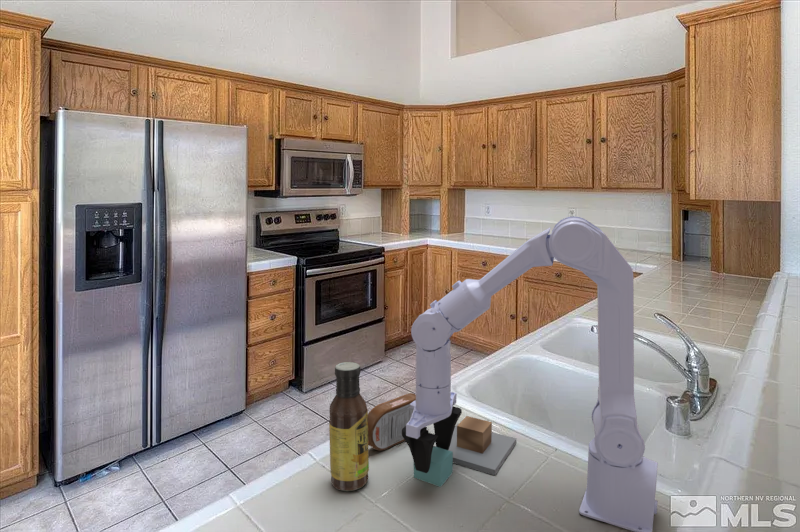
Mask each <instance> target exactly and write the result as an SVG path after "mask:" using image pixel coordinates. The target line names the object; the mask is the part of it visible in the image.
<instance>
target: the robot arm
mask: <svg viewBox="0 0 800 532" xmlns="http://www.w3.org/2000/svg"><path fill="white" fill-rule="evenodd" d="M550 232H551V233H550ZM554 260H556V261H557V262H559V264H562V265H565V266H566V267H570V268H572V269H574V270H577V271H580V272H582V274H584V275H585V276H586V277H588V278H589V279H590V280H591V281H593V282H594V283H595V284H596V285H597V290H596V291H597V292H596V293H597V341H598V342H597V351H598V352H597V354H598V356H597V357H598V360H597V361H598V363H597V364H598V365H597V366H598V386H597V387H598V389H597V401H596V403H595V405H594V406H593V408H592V410H591V420H592V424H593V428H594V437H593V438H592V439H591V440H590V441H589V443H588V454H587V455H588V456H587V473H586V475H587V476H586V489H585V492H584V495H583V498H582V500H581V503H580V506H579V509H578V513H579V515H581V516H584V517H587V518H590V519H593V520H596V521H600V522H604V523H607V524H610V525H613V526H616V527H618V528H623V529H625V530H628V531H632V532H653V526H654V518H655V516H654V515H657V513H658V501H659V500H657V499H656V495H657V494H656V492H657V483H658V482H657V480H658V479H657V478H658V466H659V463H658V462H657V461H655V460H652V459H650V458H648V457H645V456H644V454H645V450H646V445H645V444H646V443H645V440H644V437H643V436H642V434H641V430H640V428H639V425H638V416H637V408H636V401H635V355H634V354H635V349H634V348H635V346H634V345H635V343H634V342H635V337H634V332H635V331H634V330H635V327H634V323H635V322H634V319H635V318H634V315H635V314H634V313H635V312H634V298H635V297H634V295H635V294H634V293H635V292H634V291H635V290H634V271H633V268H632V266H631V265H630V264H629V263H628V261H627V260H626V258H625V257H624V256H623V255H622V254H621V252H620V251H619V250H618V249H617V247H616V246H615V245H614V243H613V242H612V241H611V240H610V239H609V237H608V235H606V234H605V232H603V230H602V229H601V228H599V226H596V225H595V224H593V223H592V222H590V221H588V219H585V218H584V217H580V216H574V215H573V216H566V217H565V218H562V219H560V220H559V221H558V222H557V223H556V224H555V225H554V226H553V228H552V230H551V226H550V227H548V228H546V229H544V230H543V231H541V232H539V233H537V234H536V235H534V236H533V237H531V238H529V239H527V240H526V241H525V242H523V244H521V245H520V246H519V247H517V248H516V249H515V250H514V251H513V252H512V253H510V254H509V255H507V257H505V258H504V259H503V260H502V261H500V263H498V264H496V266H494V267H493V268H492V269H491V270H490V271H488V273H486V274H484V276H483V277H481V278H480V279H473V278H466V279H464V280H463V281H461V280H457V281H456V282H455V283H454V284H453V285H451V287H452V290H451V291H449V292H448V293H447V294H446V295H444V296H443V297H442V298H440V299H439V300H438V301H437V299H435V300H434V301H432V302H431V303H430V304H429V306H430V308H428V309H426V310H425V311H424V312H422V313H421V314H419V315H418V316H417V317H416V319H414V322H413V323H412V325H411V328H410V332H411V338H412V341H413V343H415V394H416V400H415V401H413V402H412V403H410V408H411V409H414V410H413V413H412V416H411V418H410V421H409V422H408V423H407V424H406V426H405V427H404V428H403V429H402V437H403V438H404V439H405V441H404V442H405V443H406V444H407V446H408V449H409V451H410V453H411V457H412V461H413V466H414V465H415V468H416V470H418V471H421V472H424V473H427V472H428V471H429V469H430V463H431V455H432V450H433V446H434V445H435V446H436V447H438V448H442V449H445V450H449V447H450V444H451V439H452V435H453V431H454V428H455V426H456V425H457V424H458V423H457V422H458V421H459V419H460V417H461V415H462V413H463V412H462V411H463V409H462V408H461V407H457V406H454V405H456V404H457V392H454V391H451V390H452V389H451V387H452V386H451V385H452V384H451V382H452V373H451V372H452V354H451V339H450V338H452V336H453V334H454V333H457V332H460V331H462V330H463V329H465V328H466V327H467V326H468V325H470V323H472V322H473V321H474V320H476V319H477V318H479V317H481V316H482V315H483V314H484V313H486V312H487V311H488V310H490V309H491V302H492V296H494V295H496V294H497V293H498V292H499V291H502V289H504V288H505V287H507V286H509V285H510V284H511V283H513V282H514V281H515V280H517V279H518V278H519V277H520V276H522V275H524V274H525V273H527V272H528V271H529V270H531V269H532V268H537V267H538V268H539V267H552V266H553V264H554ZM431 425H433V430H434V433H431V432H429V430H428V428H427V427H428V426H431Z"/></svg>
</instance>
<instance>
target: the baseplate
mask: <svg viewBox="0 0 800 532" xmlns="http://www.w3.org/2000/svg"><path fill="white" fill-rule="evenodd" d="M458 424H459V423H456V425H455V428H454V431H453V435H452V439H451V444H450V447H449V451H452V452H453V464H456V465H459V466H462V467H465V468H469V469H472V470H476V471H477V472H478V471H479V472H482V473H485V474H489V475H491V476H496V475H497V473H498V471H499V470H500V469H501V467H502V465H503V464H504V463H505V461H506V460H507V459H508V457H509V455H510V453H511V452H512V451H513V449H514V447H515V446H516V444H517V437H513V436H508V435H504V434H501V433H497V432H494V431H493V432H492V441H491V444H490V445H489V446H488V447H487V449H486V450H485V451H484V453H483V454H482V453H478V452H475V451H471V450H468V449H464V448H461V447H457V425H458ZM435 447H436V445H435Z"/></svg>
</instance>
